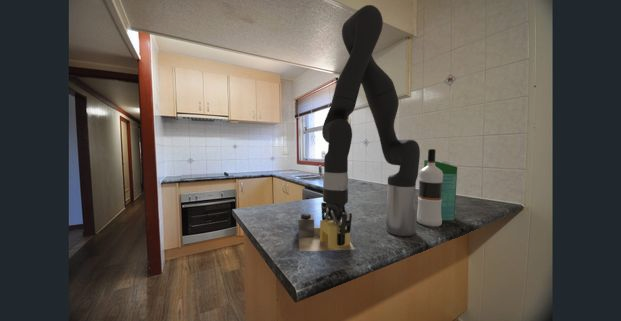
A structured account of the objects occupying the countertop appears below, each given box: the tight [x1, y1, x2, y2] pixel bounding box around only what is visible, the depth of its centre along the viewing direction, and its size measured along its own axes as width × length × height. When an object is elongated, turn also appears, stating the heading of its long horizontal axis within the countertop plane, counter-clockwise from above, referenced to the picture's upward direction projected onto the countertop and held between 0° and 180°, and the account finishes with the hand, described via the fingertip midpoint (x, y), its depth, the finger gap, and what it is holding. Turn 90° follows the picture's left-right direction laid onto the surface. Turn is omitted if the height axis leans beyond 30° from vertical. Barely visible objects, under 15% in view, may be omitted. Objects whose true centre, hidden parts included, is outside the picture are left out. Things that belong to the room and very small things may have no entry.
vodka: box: [417, 148, 443, 228], centre depth 83 cm, size 9×9×30 cm
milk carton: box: [423, 159, 458, 221], centre depth 91 cm, size 9×9×25 cm
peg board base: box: [297, 212, 356, 252], centre depth 67 cm, size 16×16×8 cm
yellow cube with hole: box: [319, 219, 351, 249], centre depth 64 cm, size 7×6×7 cm
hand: (334, 240), depth 64 cm, fingers closed on yellow cube with hole, 6 cm apart
